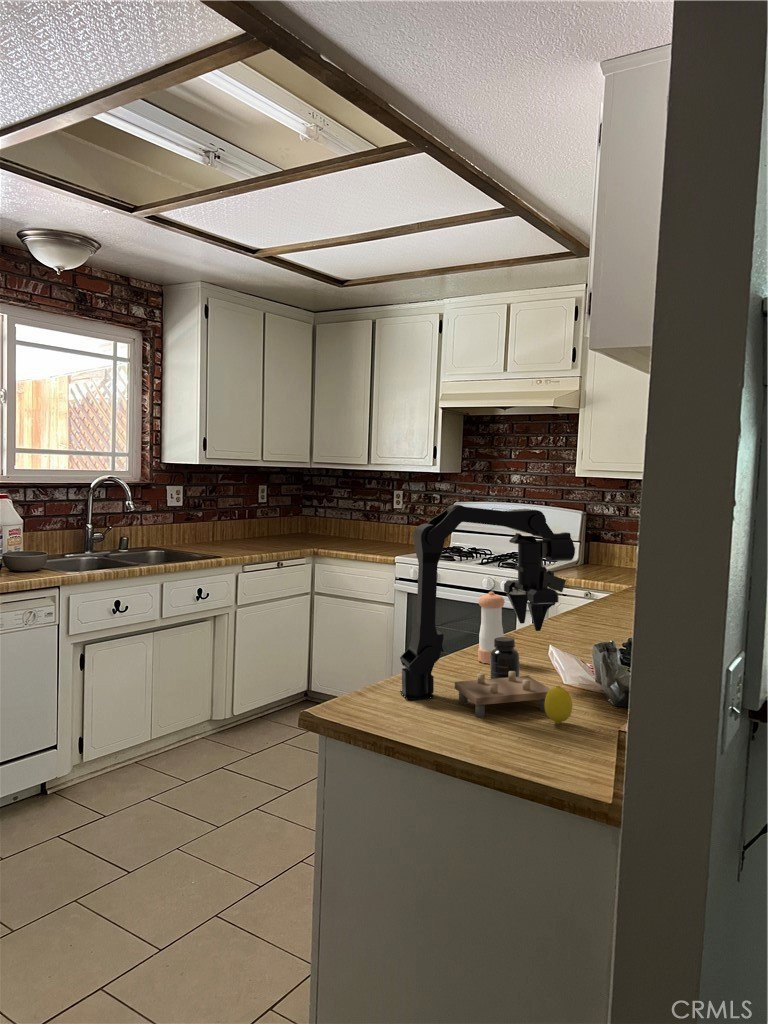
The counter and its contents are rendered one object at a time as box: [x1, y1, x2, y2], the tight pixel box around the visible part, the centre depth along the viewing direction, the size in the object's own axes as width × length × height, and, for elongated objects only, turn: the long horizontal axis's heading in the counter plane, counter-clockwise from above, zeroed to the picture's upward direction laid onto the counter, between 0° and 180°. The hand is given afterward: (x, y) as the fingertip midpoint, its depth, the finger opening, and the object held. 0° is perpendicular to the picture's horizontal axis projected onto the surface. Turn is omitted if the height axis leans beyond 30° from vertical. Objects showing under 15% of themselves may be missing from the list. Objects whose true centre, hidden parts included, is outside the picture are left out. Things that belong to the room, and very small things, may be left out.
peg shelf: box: [454, 671, 551, 719], centre depth 169 cm, size 18×13×6 cm
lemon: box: [544, 685, 573, 725], centre depth 157 cm, size 6×6×8 cm
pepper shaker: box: [477, 591, 505, 664], centre depth 209 cm, size 7×7×19 cm
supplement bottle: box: [489, 636, 520, 679], centre depth 183 cm, size 7×7×12 cm
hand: (529, 627), depth 184 cm, fingers open, 9 cm apart
